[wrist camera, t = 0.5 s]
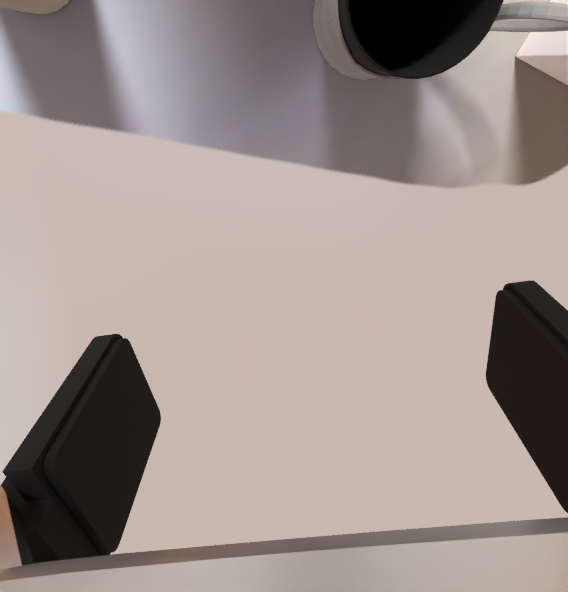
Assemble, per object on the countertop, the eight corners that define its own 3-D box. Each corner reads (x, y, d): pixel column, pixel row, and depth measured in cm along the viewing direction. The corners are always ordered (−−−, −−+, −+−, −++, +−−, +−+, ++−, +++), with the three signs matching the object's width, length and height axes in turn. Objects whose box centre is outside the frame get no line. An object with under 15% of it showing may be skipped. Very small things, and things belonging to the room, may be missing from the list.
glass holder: (322, -66, 29) (352, -165, 16) (512, -37, 30) (684, -109, 17) (305, 72, 34) (317, 81, 21) (470, 94, 34) (582, 116, 21)
